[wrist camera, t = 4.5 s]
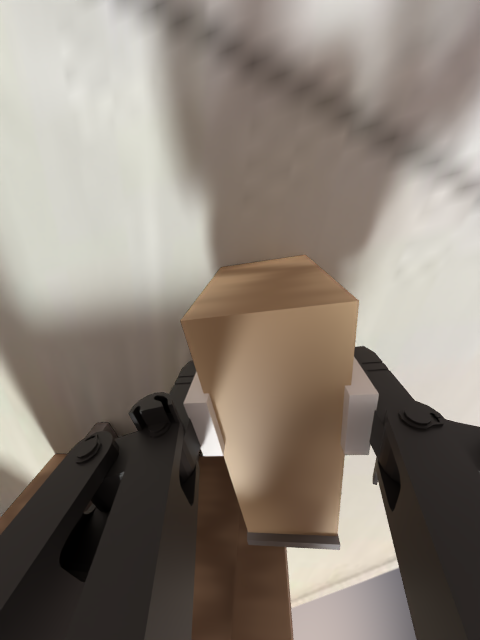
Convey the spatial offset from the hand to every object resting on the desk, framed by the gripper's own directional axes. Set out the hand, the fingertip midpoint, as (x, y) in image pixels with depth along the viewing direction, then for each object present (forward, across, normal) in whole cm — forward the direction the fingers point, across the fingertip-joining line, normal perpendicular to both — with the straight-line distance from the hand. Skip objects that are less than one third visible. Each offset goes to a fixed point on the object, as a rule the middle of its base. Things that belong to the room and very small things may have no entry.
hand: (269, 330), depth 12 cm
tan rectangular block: (0, 0, -2) cm, 3 cm away
